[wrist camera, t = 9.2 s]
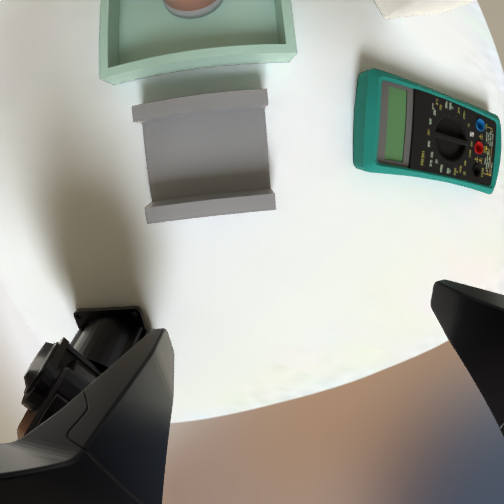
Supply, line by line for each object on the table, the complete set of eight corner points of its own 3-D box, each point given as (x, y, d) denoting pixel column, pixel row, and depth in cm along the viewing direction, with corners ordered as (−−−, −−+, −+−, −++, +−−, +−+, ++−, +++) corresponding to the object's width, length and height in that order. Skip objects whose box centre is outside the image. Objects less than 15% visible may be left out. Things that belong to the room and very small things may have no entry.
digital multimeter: (480, 190, 22) (500, 197, 19) (347, 167, 20) (364, 172, 18) (486, 117, 19) (507, 118, 16) (352, 71, 18) (370, 64, 15)
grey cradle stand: (155, 214, 20) (147, 223, 18) (142, 109, 17) (131, 106, 15) (270, 201, 20) (275, 209, 18) (262, 94, 18) (266, 88, 15)
